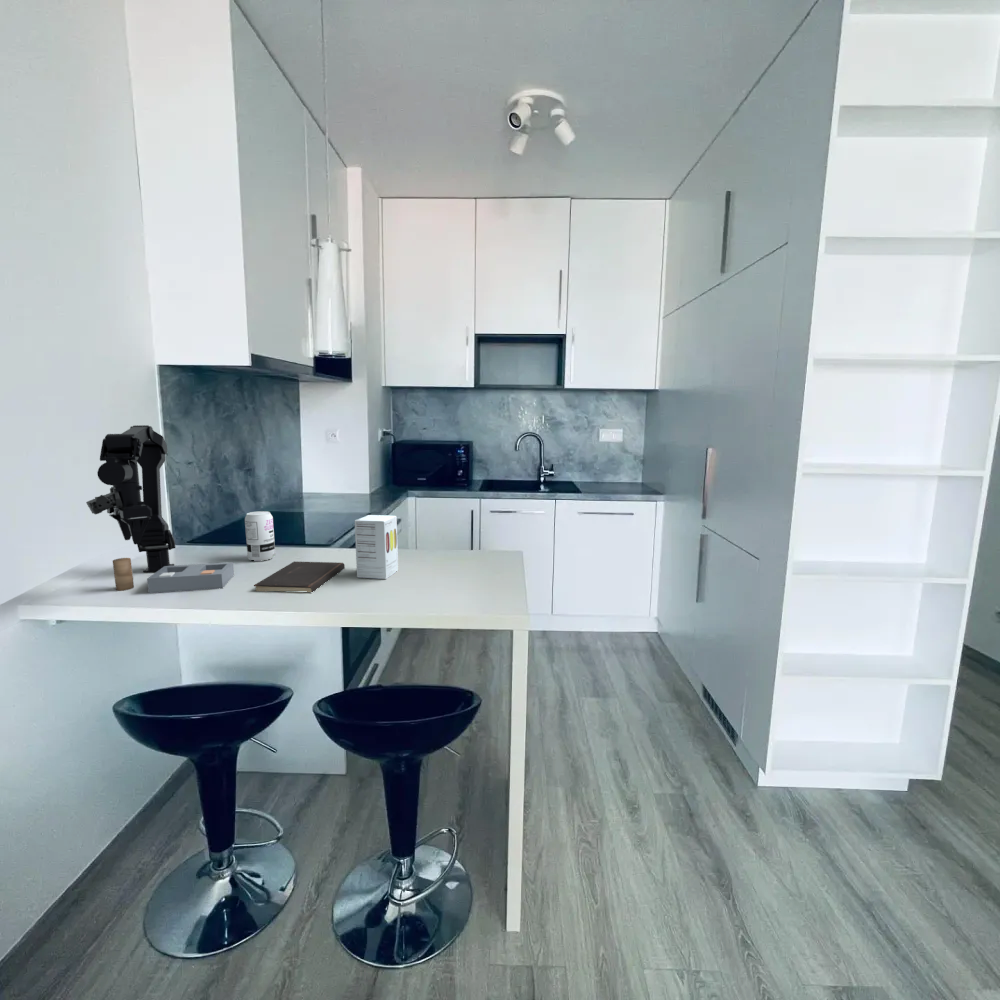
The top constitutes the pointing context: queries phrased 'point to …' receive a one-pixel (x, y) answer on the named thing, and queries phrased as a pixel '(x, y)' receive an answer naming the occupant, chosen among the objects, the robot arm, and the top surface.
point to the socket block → (190, 577)
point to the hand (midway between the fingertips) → (131, 542)
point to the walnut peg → (123, 574)
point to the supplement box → (376, 546)
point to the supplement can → (260, 535)
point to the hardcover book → (300, 576)
